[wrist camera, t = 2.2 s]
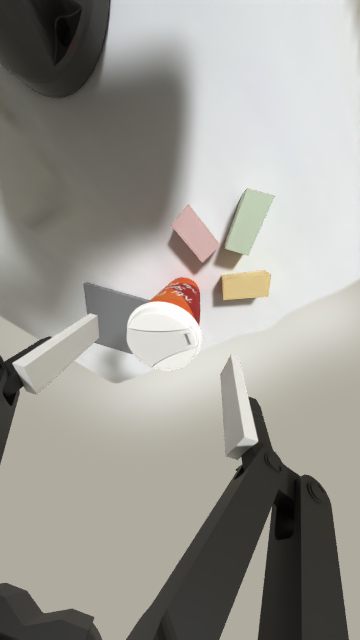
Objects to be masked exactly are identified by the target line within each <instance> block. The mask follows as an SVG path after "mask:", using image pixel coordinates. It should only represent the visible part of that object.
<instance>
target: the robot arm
mask: <svg viewBox="0 0 360 640" xmlns="http://www.w3.org/2000/svg"><path fill="white" fill-rule="evenodd" d="M108 11H109V0H0V64H1V65H2V66H4V67H5V68H6V69H7V70H8V71H10V72H11V73H12V74H13V75H15V76H16V77H17V78H18V79H20V80H21V81H22V82H23V83H25V84H26V85H27V86H29V87H30V88H32V89H33V90H35V91H37V92H38V93H41V94H43V95H46V96H50V97H63V96H67V95H69V94H72V93H73V92H75V91H76V90H78V89H79V88H80V87H81V86H82V85H83V84H84V83H85V82H86V80H87V79H88V77H89V76H90V74H91V73H92V71H93V69H94V67H95V65H96V62H97V60H98V57H99V54H100V51H101V48H102V44H103V41H104V36H105V31H106V26H107V19H108ZM98 338H99V328H98V315H94V314H91V313H90V314H88V315H87V316H85V317H83V318H82V319H80V320H79V321H77V322H76V323H74V324H73V325H71V326H69V327H68V328H66V329H65V330H63V331H62V332H60V333H59V334H57V335H55V336H54V337H50V336H49V337H46V338H44V339H41V340H39V341H38V342H36V343H34V345H31V346H29V347H28V348H27V349H24V350H23V351H21V352H20V353H18V354H16V355H15V356H13V357H11V358H10V359H8V360H7V361H5V362H4V361H3V359H2V357H1V356H0V463H1V459H2V456H3V452H4V448H5V445H6V441H7V438H8V434H9V430H10V427H11V423H12V419H13V416H14V412H15V408H16V405H17V401H18V397H19V394H20V393H19V389H20V388H22V387H23V386H24V387H25V390H26V391H28V392H30V393H33V394H38V393H39V392H40V391H41V390H42V389H43V388H44V387H45V386H47V385H48V384H49V383H50V382H51V381H52V380H53V379H54V378H55V377H57V375H59V374H60V373H61V372H62V371H63V370H64V369H65V368H66V367H67V366H69V365H70V364H71V363H72V362H73V361H74V360H75V359H76V358H77V357H78V356H80V355H81V354H82V353H83V352H84V351H85V350H86V349H87V348H88V347H89V346H91V345H92V344H93V343H94V342H95V341H96V340H97V339H98ZM221 391H222V405H223V422H224V437H225V452H226V456H227V457H230V458H233V459H236V460H238V459H239V458H240V457H242V465H241V466H240V467H239V468H237V469H236V471H237V472H236V474H235V475H234V477H233V479H232V480H231V482H230V483H229V485H228V486H227V488H226V490H225V491H224V493H223V494H222V496H221V498H220V499H219V500H218V502H217V504H216V505H215V507H214V508H213V510H212V511H211V513H210V515H209V516H208V518H207V519H206V521H205V522H204V524H203V525H202V527H201V528H200V530H199V532H198V533H197V535H196V536H195V538H194V539H193V541H192V543H191V544H190V546H189V547H188V549H187V550H186V552H185V553H184V555H183V557H182V558H181V560H180V561H179V563H178V564H177V566H176V568H175V569H174V571H173V572H172V574H171V575H170V577H169V579H168V580H167V582H166V583H165V585H164V586H163V588H162V589H161V591H160V592H159V594H158V596H157V597H156V599H155V600H154V602H153V603H152V605H151V606H150V607H149V609H148V610H147V611H146V612H145V613H144V614H143V616H142V617H141V618H140V619H139V621H138V622H137V624H136V625H135V627H134V628H133V630H132V631H131V633H130V635H129V636H128V638H127V639H126V640H219V639H220V636H221V633H222V631H223V628H224V626H225V623H226V621H227V618H228V616H229V613H230V611H231V608H232V606H233V603H234V601H235V598H236V595H237V593H238V590H239V588H240V585H241V583H242V580H243V578H244V575H245V573H246V570H247V568H248V565H249V563H250V560H251V558H252V554H253V552H254V550H255V547H256V545H257V542H258V540H259V537H260V535H261V532H262V530H263V527H264V524H265V522H266V520H267V517H268V514H269V512H270V509H271V507H272V513H271V523H270V532H269V541H268V551H267V560H266V569H265V579H264V587H263V597H262V607H261V615H260V624H259V635H258V640H349V639H348V630H347V622H346V615H345V607H344V599H343V591H342V584H341V576H340V568H339V561H338V553H337V545H336V538H335V530H334V522H333V515H332V507H331V503H330V499H329V497H328V495H327V493H326V491H325V490H324V488H323V487H322V486H321V484H320V483H319V482H318V481H317V480H315V479H314V478H313V477H311V476H309V475H303V476H299V475H298V474H296V473H295V472H293V471H292V470H290V469H289V468H287V467H286V466H285V465H284V464H283V463H282V462H281V460H280V458H279V457H278V455H277V454H276V453H275V452H274V451H273V449H272V446H271V442H270V439H269V436H268V432H267V428H266V425H265V422H264V418H263V416H262V411H261V407H260V406H259V404H258V402H257V400H256V399H254V398H251V397H248V395H247V390H246V385H245V381H244V376H243V372H242V368H241V363H240V359H239V357H237V356H233V355H231V356H230V357H229V360H228V361H227V363H226V365H225V367H224V369H223V371H222V372H221ZM93 620H94V617H92V616H90V615H87V614H84V613H82V612H80V611H77V610H74V609H68V610H62V611H56V612H51V613H43V612H42V611H41V610H40V608H39V607H38V606H37V604H36V603H35V601H34V600H33V599H32V597H31V596H30V594H29V593H28V592H27V591H26V590H23V589H20V588H18V587H15V586H12V585H10V584H8V583H1V584H0V640H102V638H101V636H100V633H99V631H98V629H97V628H96V627H95V625H94V624H93Z"/></svg>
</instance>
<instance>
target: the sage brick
mask: <svg viewBox="0 0 360 640" xmlns="http://www.w3.org/2000/svg"><path fill="white" fill-rule="evenodd" d="M274 197H275V196H274V195H270V194H267V193H263V192H259V191H256V190H252V189H248V188H247V189H246V190H245V192H244V193H243V194H242V197H241V200H240V203H239V206H238V208H237V211H236V214H235V217H234V219H233V222H232V225H231V228H230V231H229V233H228V236H227V239H226V242H225V244H224V248H225V249H227V250H231V251H234V252H238V253H241V254H245V255H249V252H250V250H251V248H252V246H253V244H254V241H255V239H256V237H257V235H258V232H259V230H260V228H261V226H262V224H263V221H264V219H265V217H266V215H267V212H268V210H269V208H270V206H271V204H272V201H273V199H274Z"/></svg>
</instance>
